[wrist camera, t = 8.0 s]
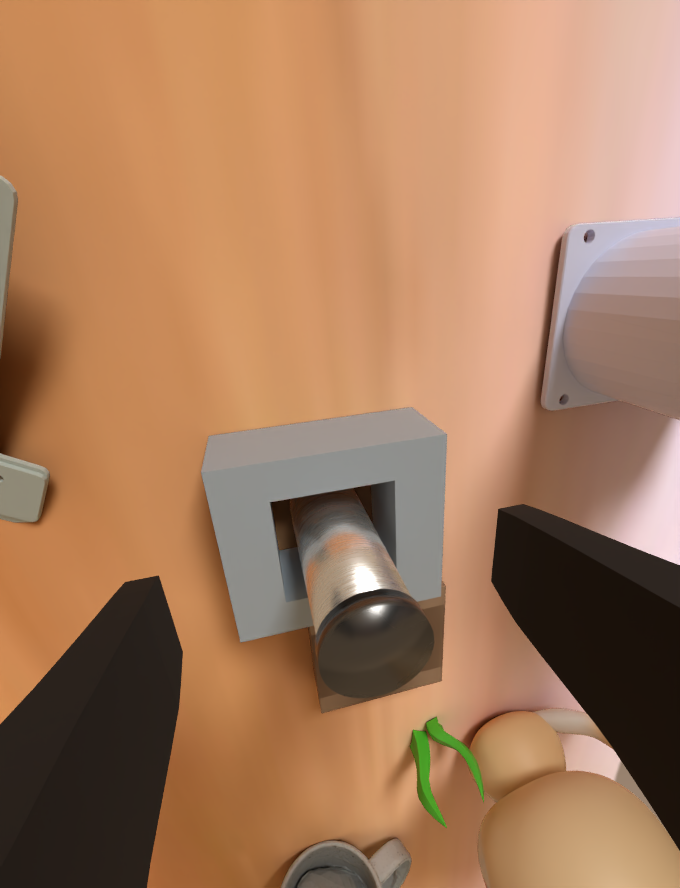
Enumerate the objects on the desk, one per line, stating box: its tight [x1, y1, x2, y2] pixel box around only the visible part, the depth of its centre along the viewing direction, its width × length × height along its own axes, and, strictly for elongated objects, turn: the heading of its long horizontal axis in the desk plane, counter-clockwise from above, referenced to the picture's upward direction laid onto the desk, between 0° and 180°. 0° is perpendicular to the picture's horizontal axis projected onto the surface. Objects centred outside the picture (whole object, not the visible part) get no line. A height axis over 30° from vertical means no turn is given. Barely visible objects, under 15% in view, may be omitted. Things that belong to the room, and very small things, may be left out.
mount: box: [308, 581, 446, 713], centre depth 22 cm, size 7×7×2 cm
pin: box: [290, 488, 434, 698], centre depth 15 cm, size 3×3×9 cm
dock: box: [201, 407, 447, 642], centre depth 18 cm, size 9×8×4 cm
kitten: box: [410, 708, 680, 888], centre depth 23 cm, size 15×10×15 cm
